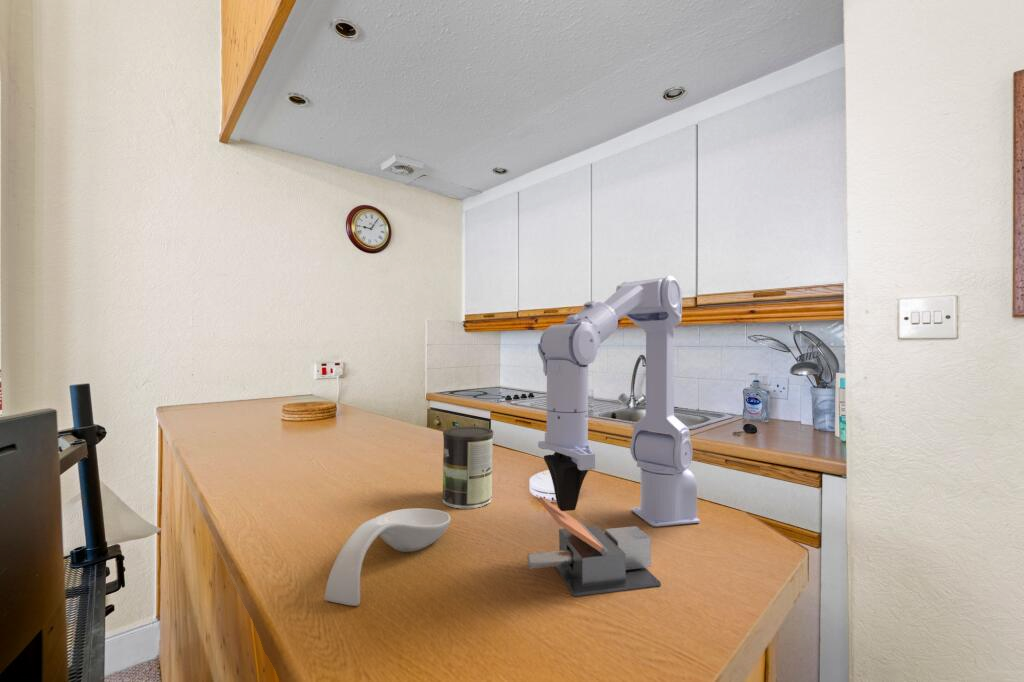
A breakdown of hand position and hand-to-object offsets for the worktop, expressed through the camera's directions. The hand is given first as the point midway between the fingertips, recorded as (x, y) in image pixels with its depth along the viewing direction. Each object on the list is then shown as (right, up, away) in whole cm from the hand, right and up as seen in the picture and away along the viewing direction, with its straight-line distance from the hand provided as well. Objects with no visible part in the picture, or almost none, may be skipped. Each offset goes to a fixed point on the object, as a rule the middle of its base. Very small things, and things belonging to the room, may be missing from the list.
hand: (566, 508), depth 58 cm
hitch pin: (+3, -8, 0) cm, 9 cm away
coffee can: (-17, -10, +28) cm, 34 cm away
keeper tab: (0, -3, 0) cm, 2 cm away
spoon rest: (-25, -9, +3) cm, 27 cm away
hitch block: (+5, -9, +1) cm, 10 cm away
